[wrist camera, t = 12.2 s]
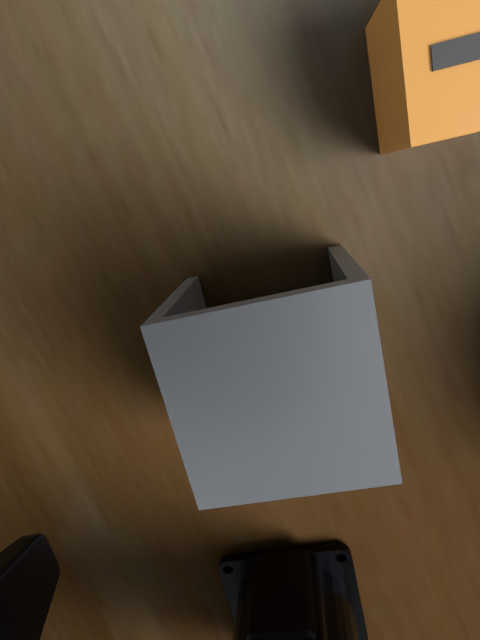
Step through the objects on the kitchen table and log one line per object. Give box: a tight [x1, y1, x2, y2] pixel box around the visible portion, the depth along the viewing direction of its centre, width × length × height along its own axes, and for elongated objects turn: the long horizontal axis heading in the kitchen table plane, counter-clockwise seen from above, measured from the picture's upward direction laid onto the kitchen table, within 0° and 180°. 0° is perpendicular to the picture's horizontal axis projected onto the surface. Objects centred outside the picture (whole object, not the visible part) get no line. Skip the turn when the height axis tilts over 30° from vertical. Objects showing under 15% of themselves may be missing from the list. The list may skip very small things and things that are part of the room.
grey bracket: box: [140, 245, 402, 510], centre depth 15 cm, size 6×6×6 cm
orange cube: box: [365, 0, 480, 155], centre depth 13 cm, size 4×4×4 cm
